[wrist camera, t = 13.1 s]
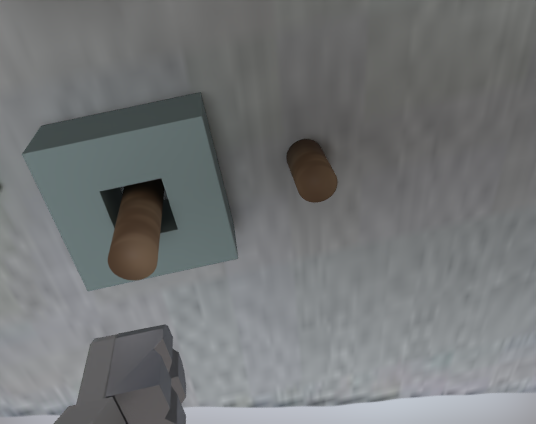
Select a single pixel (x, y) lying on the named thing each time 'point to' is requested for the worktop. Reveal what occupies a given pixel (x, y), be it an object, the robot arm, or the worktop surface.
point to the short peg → (311, 171)
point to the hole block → (132, 172)
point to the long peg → (137, 231)
